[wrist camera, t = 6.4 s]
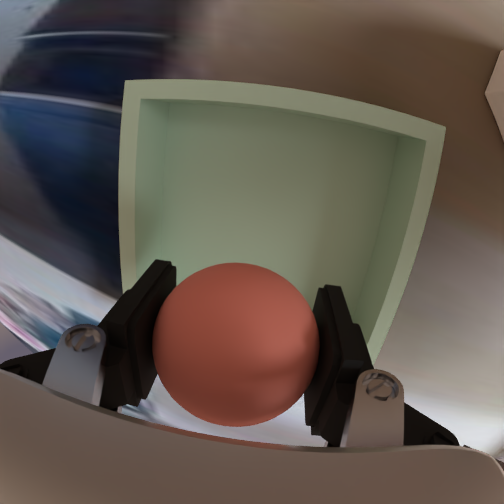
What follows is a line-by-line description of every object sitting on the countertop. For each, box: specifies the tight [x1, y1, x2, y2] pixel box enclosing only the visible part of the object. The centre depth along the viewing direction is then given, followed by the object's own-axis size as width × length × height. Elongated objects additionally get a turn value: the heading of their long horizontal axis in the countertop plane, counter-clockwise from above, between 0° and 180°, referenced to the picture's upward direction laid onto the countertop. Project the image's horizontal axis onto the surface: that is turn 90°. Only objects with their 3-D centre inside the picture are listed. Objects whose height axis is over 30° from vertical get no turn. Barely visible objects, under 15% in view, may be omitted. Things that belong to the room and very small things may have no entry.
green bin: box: [118, 79, 446, 365], centre depth 18 cm, size 16×16×5 cm
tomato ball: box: [152, 263, 320, 427], centre depth 9 cm, size 5×5×5 cm
